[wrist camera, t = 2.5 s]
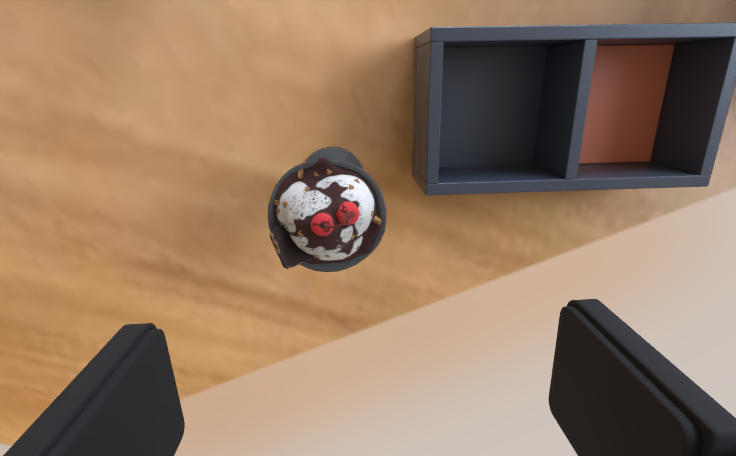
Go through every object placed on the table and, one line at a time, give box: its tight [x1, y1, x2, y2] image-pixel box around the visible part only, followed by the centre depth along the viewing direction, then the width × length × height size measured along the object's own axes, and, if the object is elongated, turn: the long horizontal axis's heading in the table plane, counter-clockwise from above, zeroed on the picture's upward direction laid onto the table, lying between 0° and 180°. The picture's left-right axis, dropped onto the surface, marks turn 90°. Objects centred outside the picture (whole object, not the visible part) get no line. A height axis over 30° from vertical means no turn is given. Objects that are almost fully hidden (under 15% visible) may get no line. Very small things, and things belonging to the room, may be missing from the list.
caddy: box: [412, 23, 736, 195], centre depth 29 cm, size 10×19×6 cm, turn 91°
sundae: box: [268, 147, 386, 272], centre depth 26 cm, size 7×7×15 cm
